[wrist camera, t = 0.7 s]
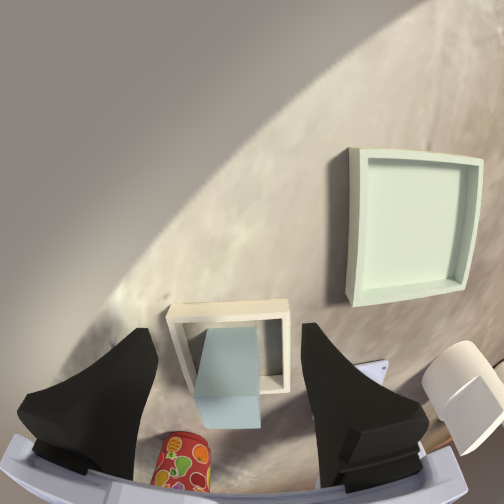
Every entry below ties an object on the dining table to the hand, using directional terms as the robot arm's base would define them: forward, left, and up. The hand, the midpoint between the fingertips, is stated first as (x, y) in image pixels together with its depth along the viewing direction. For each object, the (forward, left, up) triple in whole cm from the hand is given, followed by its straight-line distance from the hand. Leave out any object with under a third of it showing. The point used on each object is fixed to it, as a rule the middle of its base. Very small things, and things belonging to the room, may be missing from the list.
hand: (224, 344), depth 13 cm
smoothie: (-28, +10, -11) cm, 32 cm away
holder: (-9, +1, -10) cm, 14 cm away
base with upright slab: (-18, -26, -11) cm, 33 cm away
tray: (+2, -15, -10) cm, 18 cm away
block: (-9, +1, -10) cm, 14 cm away
